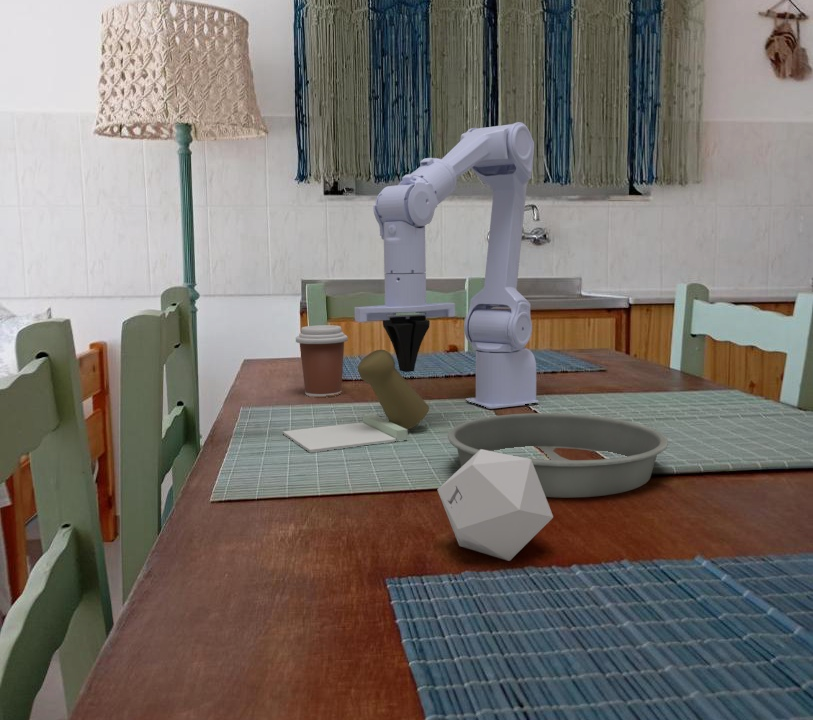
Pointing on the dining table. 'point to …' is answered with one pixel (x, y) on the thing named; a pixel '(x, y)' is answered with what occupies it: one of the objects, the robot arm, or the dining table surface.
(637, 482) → the cake pan
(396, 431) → the kerb
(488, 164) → the robot arm
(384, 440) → the mat
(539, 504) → the die
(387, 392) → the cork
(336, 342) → the coffee cup
